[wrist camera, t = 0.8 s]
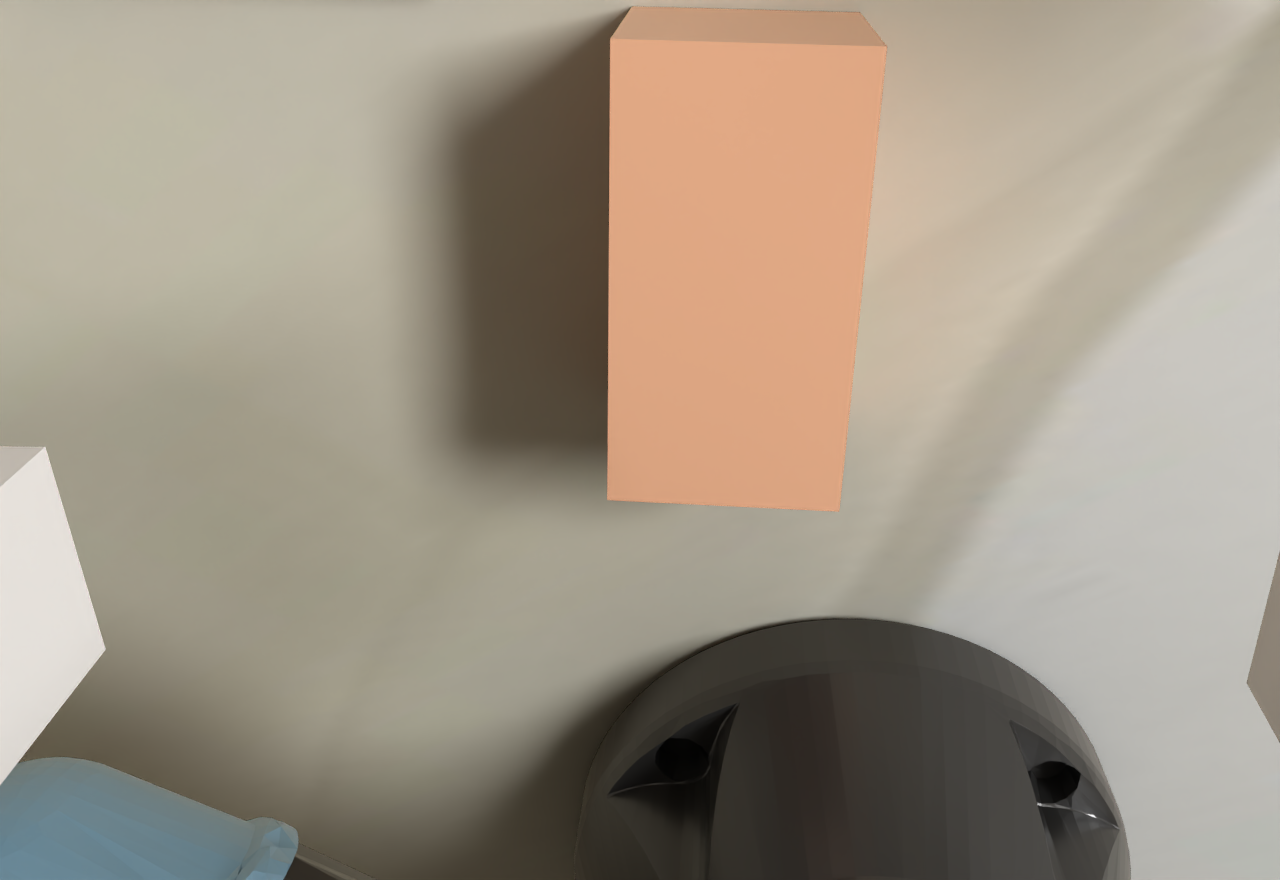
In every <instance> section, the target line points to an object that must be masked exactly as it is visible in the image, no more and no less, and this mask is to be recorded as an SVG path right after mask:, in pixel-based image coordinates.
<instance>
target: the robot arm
mask: <svg viewBox="0 0 1280 880" xmlns="http://www.w3.org/2000/svg"><path fill="white" fill-rule="evenodd" d="M105 650H106V649H105V646H104V642H103V639H102V635H101V632H100V629H99V625H98V622H97V619H96V615H95V612H94V609H93V605H92V602H91V599H90V595H89V592H88V588H87V585H86V582H85V578H84V575H83V572H82V568H81V565H80V562H79V558H78V555H77V552H76V548H75V545H74V542H73V538H72V535H71V531H70V528H69V525H68V521H67V518H66V515H65V511H64V508H63V505H62V501H61V498H60V495H59V491H58V488H57V484H56V481H55V478H54V474H53V471H52V468H51V464H50V461H49V458H48V454H47V451H46V448H45V447H30V446H0V880H377V879H375V878H373V877H370V876H368V875H366V874H364V873H362V872H360V871H358V870H355V869H353V868H351V867H349V866H347V865H345V864H342V863H340V862H338V861H336V860H334V859H332V858H330V857H327V856H325V855H323V854H321V853H319V852H317V851H315V850H312V849H310V848H308V847H306V846H304V845H302V844H299V843H298V841H299V838H298V833H297V830H296V829H295V828H294V827H292V826H290V825H288V824H286V823H284V822H282V821H277V820H275V819H273V818H268V817H259V818H255V819H251V820H247V821H245V820H242V819H240V818H237V817H235V816H232V815H230V814H227V813H225V812H222V811H220V810H217V809H215V808H212V807H209V806H207V805H204V804H202V803H199V802H197V801H194V800H192V799H189V798H187V797H184V796H182V795H179V794H177V793H174V792H172V791H169V790H167V789H164V788H162V787H159V786H157V785H154V784H152V783H149V782H147V781H144V780H142V779H139V778H137V777H134V776H132V775H129V774H127V773H124V772H122V771H119V770H117V769H114V768H112V767H109V766H107V765H104V764H102V763H98V762H94V761H90V760H85V759H78V758H70V757H50V758H40V759H34V760H28V761H25V762H21V763H18V762H19V760H20V759H21V758H22V757H23V755H24V754H25V753H26V751H27V750H28V749H29V748H30V746H31V745H32V744H33V742H34V741H35V740H36V739H37V737H38V736H39V735H40V733H41V732H42V731H43V730H44V728H45V727H46V726H47V724H48V723H49V722H50V721H51V719H52V718H53V717H54V715H55V714H56V713H57V712H58V710H59V709H60V708H61V706H62V705H63V704H64V703H65V701H66V700H67V699H68V697H69V696H70V695H71V694H72V692H73V691H74V690H75V688H76V687H77V686H78V684H79V683H80V682H81V681H82V679H83V678H84V677H85V675H86V674H87V673H88V672H89V670H90V669H91V668H92V666H93V665H94V664H95V663H96V661H97V660H98V659H99V657H100V656H101V655H102V654H103V652H104V651H105ZM1247 684H1248V686H1249V688H1250V690H1251V692H1252V693H1253V695H1254V697H1255V699H1256V701H1257V702H1258V704H1259V706H1260V708H1261V710H1262V711H1263V713H1264V715H1265V717H1266V719H1267V721H1268V722H1269V724H1270V726H1271V728H1272V730H1273V731H1274V733H1275V735H1276V737H1277V739H1278V740H1279V742H1280V552H1279V556H1278V560H1277V564H1276V568H1275V572H1274V576H1273V580H1272V584H1271V588H1270V592H1269V596H1268V600H1267V604H1266V608H1265V612H1264V616H1263V620H1262V624H1261V628H1260V632H1259V636H1258V640H1257V644H1256V648H1255V652H1254V656H1253V660H1252V664H1251V668H1250V672H1249V676H1248V680H1247ZM574 872H575V880H1131V866H1130V856H1129V849H1128V843H1127V838H1126V833H1125V828H1124V824H1123V821H1122V818H1121V814H1120V811H1119V808H1118V806H1117V803H1116V801H1115V798H1114V796H1113V793H1112V791H1111V788H1110V786H1109V783H1108V781H1107V778H1106V776H1105V773H1104V771H1103V768H1102V766H1101V763H1100V761H1099V758H1098V756H1097V754H1096V752H1095V749H1094V747H1093V745H1092V744H1091V742H1090V740H1089V738H1088V736H1087V735H1086V733H1085V731H1084V730H1083V728H1082V727H1081V726H1080V724H1079V723H1078V721H1077V720H1076V718H1075V717H1074V716H1073V715H1072V714H1071V712H1070V711H1069V710H1068V709H1067V708H1066V706H1065V705H1064V704H1063V703H1062V702H1061V701H1060V700H1059V699H1058V698H1057V697H1056V696H1055V695H1054V694H1053V693H1052V692H1051V691H1050V690H1048V689H1047V688H1046V687H1045V686H1044V685H1043V684H1041V683H1040V682H1039V681H1038V680H1037V679H1035V678H1034V677H1032V676H1031V675H1030V674H1028V673H1027V672H1026V671H1024V670H1023V669H1021V668H1020V667H1018V666H1016V665H1015V664H1013V663H1012V662H1010V661H1008V660H1007V659H1005V658H1003V657H1001V656H999V655H997V654H995V653H993V652H992V651H990V650H987V649H985V648H983V647H981V646H978V645H976V644H974V643H971V642H969V641H966V640H963V639H961V638H958V637H955V636H952V635H949V634H946V633H942V632H938V631H935V630H931V629H927V628H922V627H918V626H913V625H908V624H901V623H895V622H888V621H876V620H860V619H835V620H818V621H808V622H799V623H793V624H787V625H781V626H776V627H772V628H768V629H763V630H759V631H756V632H752V633H749V634H746V635H742V636H739V637H736V638H734V639H731V640H728V641H726V642H723V643H720V644H718V645H716V646H714V647H711V648H709V649H707V650H705V651H702V652H701V653H699V654H697V655H695V656H693V657H691V658H689V659H687V660H686V661H684V662H682V663H681V664H679V665H678V666H676V667H674V668H673V669H671V670H670V671H668V672H667V673H665V674H664V675H663V676H661V677H660V678H659V679H657V680H656V681H655V682H653V683H652V684H651V685H650V686H649V687H648V688H646V689H645V690H644V691H643V692H642V693H641V694H640V695H639V696H638V697H637V698H636V699H635V700H634V701H633V702H632V703H631V704H630V705H629V706H628V707H627V708H626V709H625V710H624V712H623V713H622V714H621V715H620V716H619V718H618V719H617V720H616V721H615V723H614V724H613V726H612V727H611V729H610V730H609V731H608V733H607V735H606V736H605V738H604V740H603V742H602V743H601V745H600V747H599V749H598V751H597V753H596V755H595V758H594V760H593V762H592V765H591V768H590V771H589V774H588V777H587V781H586V785H585V789H584V794H583V801H582V807H581V814H580V820H579V826H578V833H577V839H576V846H575V860H574Z"/></svg>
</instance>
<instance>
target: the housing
mask: <svg viewBox="0 0 1280 880" xmlns="http://www.w3.org/2000/svg"><path fill="white" fill-rule="evenodd" d="M886 52H887V46H886V45H885V43H884V42H883V41H882V40H881V38H880V37H879V36H878V34H877V33H876V32H875V31H874V29H873V28H872V27H871V26H870V24H869V23H868V22H867V21H866V19H865V18H864V17H863V15H862V14H861V13H860V12H825V11H787V10H749V9H711V8H674V7H636V6H632V7H631V9H630V10H629V12H628V13H627V15H626V16H625V18H624V19H623V21H622V22H621V24H620V25H619V27H618V28H617V29H616V31H615V32H614V34H613V35H612V37H611V38H610V150H609V313H608V476H607V500H616V501H636V502H656V503H677V504H697V505H717V506H737V507H757V508H778V509H798V510H818V511H838V512H839V509H840V499H841V490H842V480H843V470H844V460H845V451H846V441H847V431H848V422H849V412H850V402H851V392H852V383H853V373H854V363H855V354H856V344H857V334H858V324H859V315H860V305H861V295H862V285H863V276H864V266H865V256H866V247H867V237H868V227H869V217H870V208H871V198H872V188H873V179H874V169H875V159H876V149H877V140H878V130H879V120H880V111H881V101H882V91H883V81H884V72H885V62H886Z"/></svg>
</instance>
